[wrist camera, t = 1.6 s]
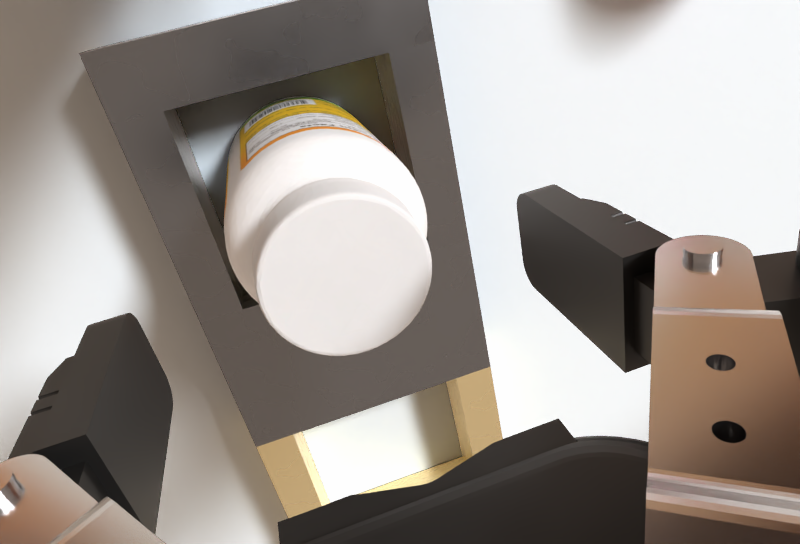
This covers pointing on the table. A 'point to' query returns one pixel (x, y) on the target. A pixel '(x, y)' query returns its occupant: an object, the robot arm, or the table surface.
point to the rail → (205, 241)
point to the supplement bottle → (325, 227)
